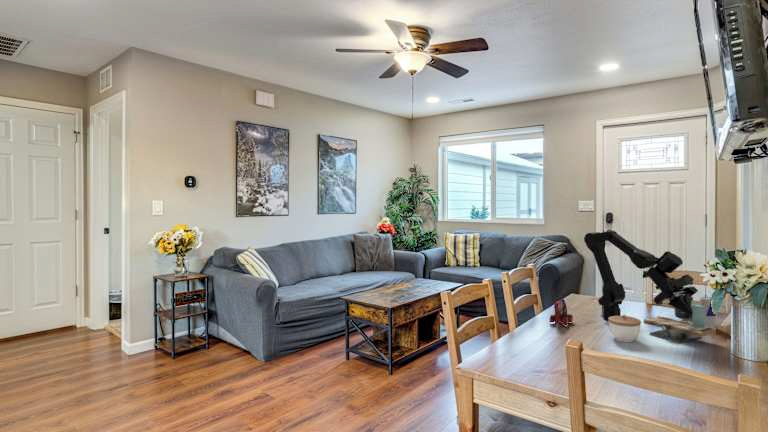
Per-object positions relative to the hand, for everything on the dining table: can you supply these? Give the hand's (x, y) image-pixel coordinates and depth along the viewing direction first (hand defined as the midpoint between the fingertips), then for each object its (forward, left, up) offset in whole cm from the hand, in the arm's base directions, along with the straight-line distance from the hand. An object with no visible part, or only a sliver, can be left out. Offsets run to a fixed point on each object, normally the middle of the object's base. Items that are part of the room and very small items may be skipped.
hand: (692, 314), depth 158 cm
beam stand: (-4, +5, -10) cm, 12 cm away
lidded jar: (-24, -1, -10) cm, 26 cm away
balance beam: (-3, +4, -6) cm, 8 cm away
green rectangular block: (+1, -2, -5) cm, 5 cm away
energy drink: (+13, +17, -10) cm, 24 cm away
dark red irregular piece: (-42, +18, -10) cm, 47 cm away
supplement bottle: (+12, +34, -10) cm, 38 cm away
